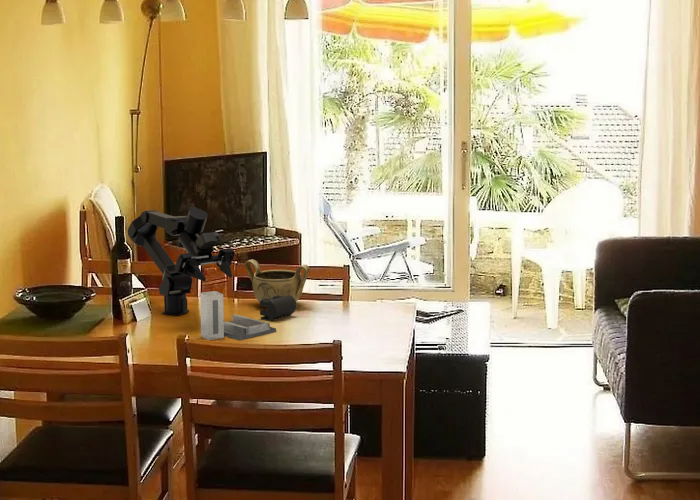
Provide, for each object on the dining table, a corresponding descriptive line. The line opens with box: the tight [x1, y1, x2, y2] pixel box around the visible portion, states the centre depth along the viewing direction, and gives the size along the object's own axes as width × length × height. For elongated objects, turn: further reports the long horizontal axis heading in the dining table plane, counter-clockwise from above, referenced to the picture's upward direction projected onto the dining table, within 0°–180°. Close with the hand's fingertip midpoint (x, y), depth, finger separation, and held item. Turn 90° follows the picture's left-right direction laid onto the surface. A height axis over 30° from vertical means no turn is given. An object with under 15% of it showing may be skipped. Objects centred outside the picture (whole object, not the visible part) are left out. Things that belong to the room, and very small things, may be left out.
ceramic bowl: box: [244, 258, 311, 304], centre depth 334 cm, size 22×17×15 cm
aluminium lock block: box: [199, 290, 225, 341], centre depth 295 cm, size 5×5×13 cm
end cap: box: [259, 295, 297, 322], centre depth 319 cm, size 10×7×7 cm
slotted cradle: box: [224, 313, 277, 341], centre depth 303 cm, size 16×14×3 cm
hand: (218, 278), depth 304 cm, fingers open, 9 cm apart
